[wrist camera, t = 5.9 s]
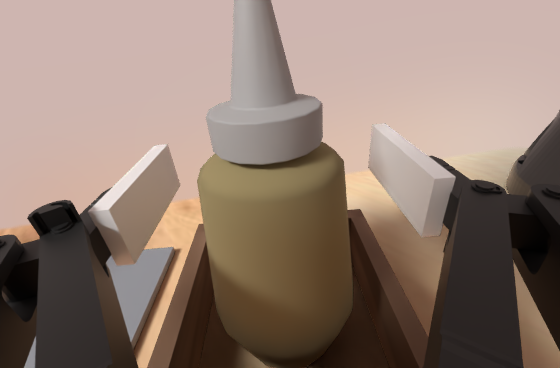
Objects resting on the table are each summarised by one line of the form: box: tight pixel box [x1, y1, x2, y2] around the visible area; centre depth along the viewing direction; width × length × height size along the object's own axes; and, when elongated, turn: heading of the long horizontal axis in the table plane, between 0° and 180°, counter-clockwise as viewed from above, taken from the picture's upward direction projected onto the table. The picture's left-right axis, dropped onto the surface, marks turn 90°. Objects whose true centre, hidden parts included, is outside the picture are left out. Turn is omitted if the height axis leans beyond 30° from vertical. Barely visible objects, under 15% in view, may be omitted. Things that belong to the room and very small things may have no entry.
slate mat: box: [24, 247, 175, 368], centre depth 18 cm, size 18×16×1 cm
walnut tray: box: [147, 209, 428, 368], centre depth 17 cm, size 13×13×4 cm
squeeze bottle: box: [197, 0, 353, 368], centre depth 13 cm, size 8×8×18 cm
